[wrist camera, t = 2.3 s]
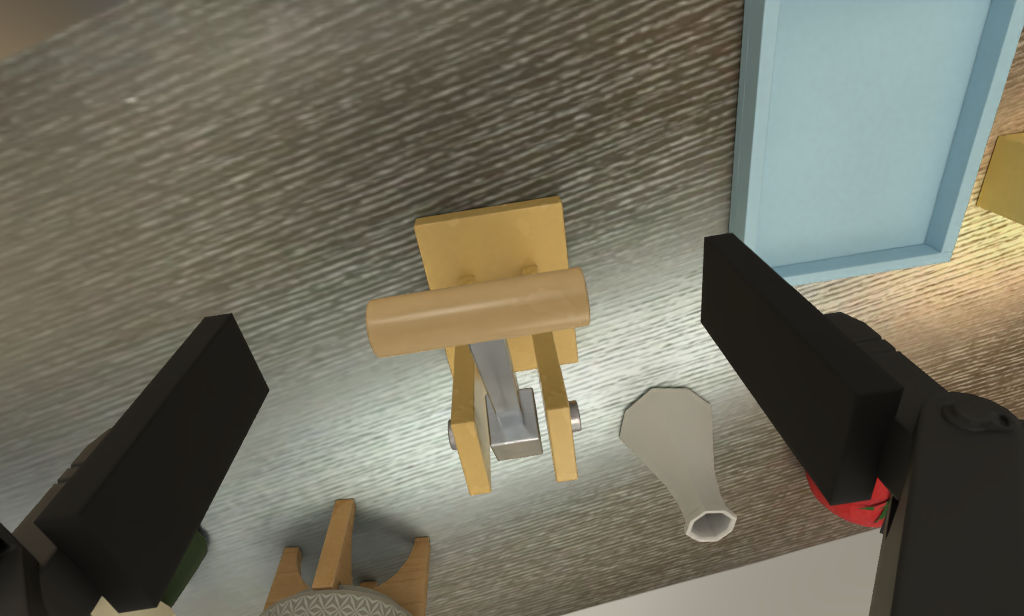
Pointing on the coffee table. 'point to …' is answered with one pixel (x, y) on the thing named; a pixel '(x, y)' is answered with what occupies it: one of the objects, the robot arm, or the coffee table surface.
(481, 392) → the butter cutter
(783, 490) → the coffee table surface
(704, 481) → the flask
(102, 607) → the character mug
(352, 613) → the planter
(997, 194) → the butter
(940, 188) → the butter dish
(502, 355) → the arm
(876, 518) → the tomato
